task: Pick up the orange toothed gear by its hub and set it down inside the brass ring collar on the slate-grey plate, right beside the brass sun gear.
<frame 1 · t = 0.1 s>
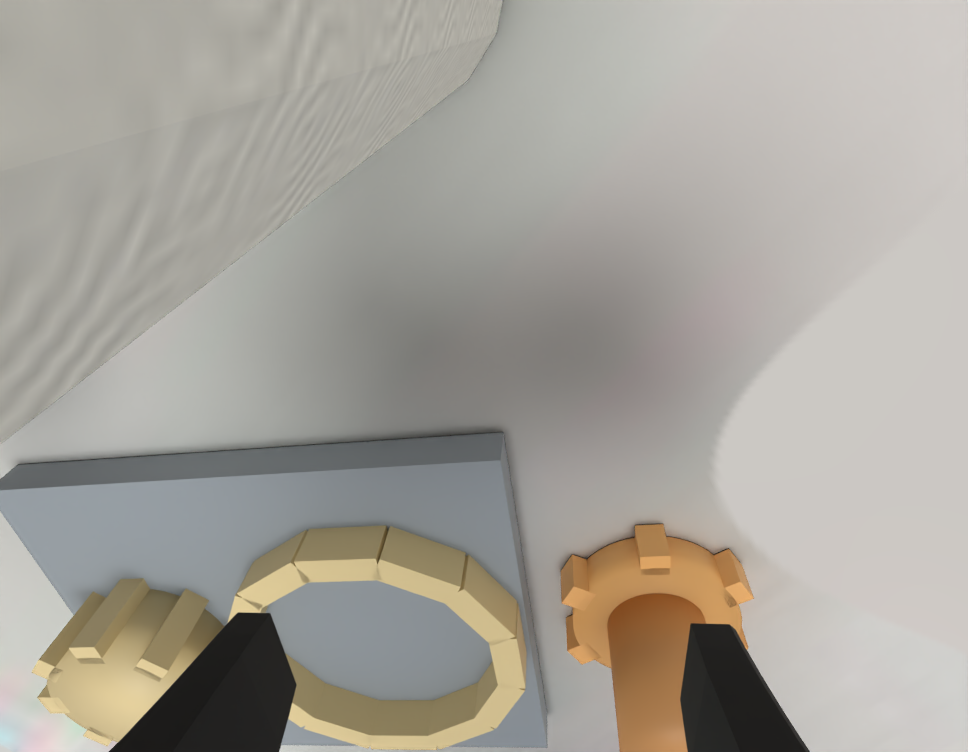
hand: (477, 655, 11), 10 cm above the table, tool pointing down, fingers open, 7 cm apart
planet gear: (649, 592, 24), on the table
carrier plate: (308, 601, 26), on the table
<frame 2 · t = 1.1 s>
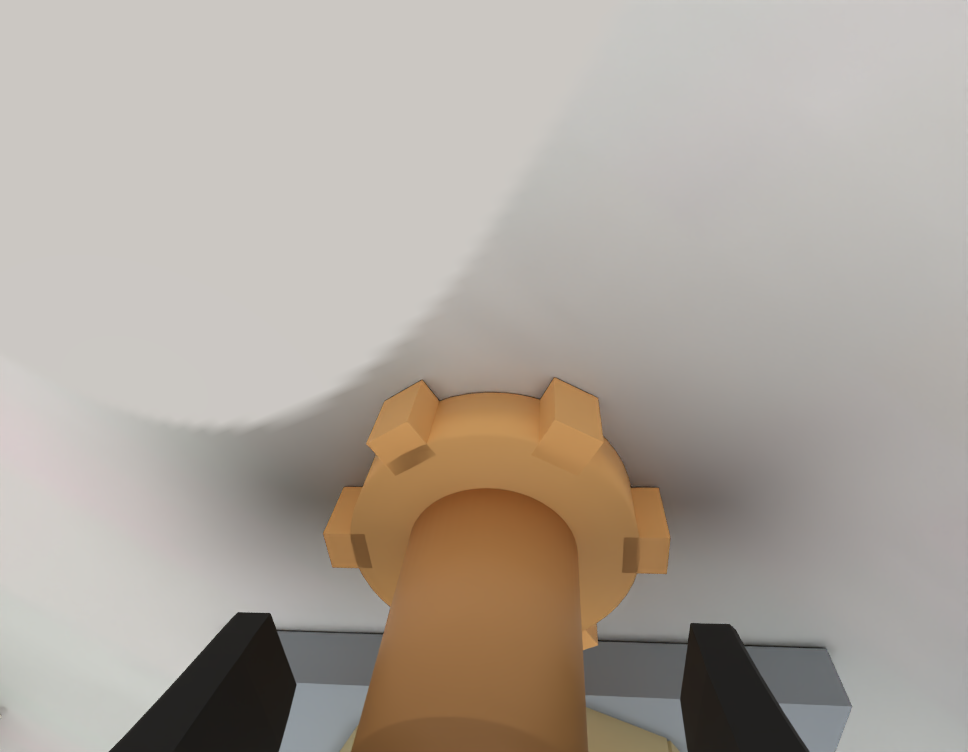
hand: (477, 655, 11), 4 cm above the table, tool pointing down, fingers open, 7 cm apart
planet gear: (497, 504, 14), on the table
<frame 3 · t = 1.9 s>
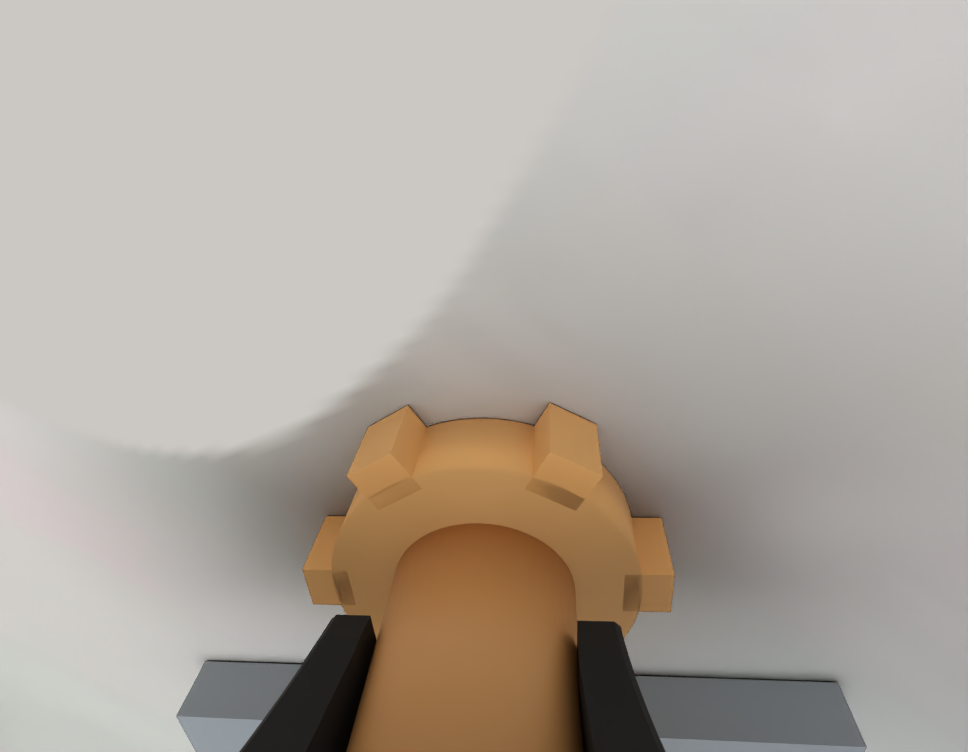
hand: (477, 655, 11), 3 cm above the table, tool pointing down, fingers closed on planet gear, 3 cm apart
planet gear: (490, 534, 13), on the table, touching gripper
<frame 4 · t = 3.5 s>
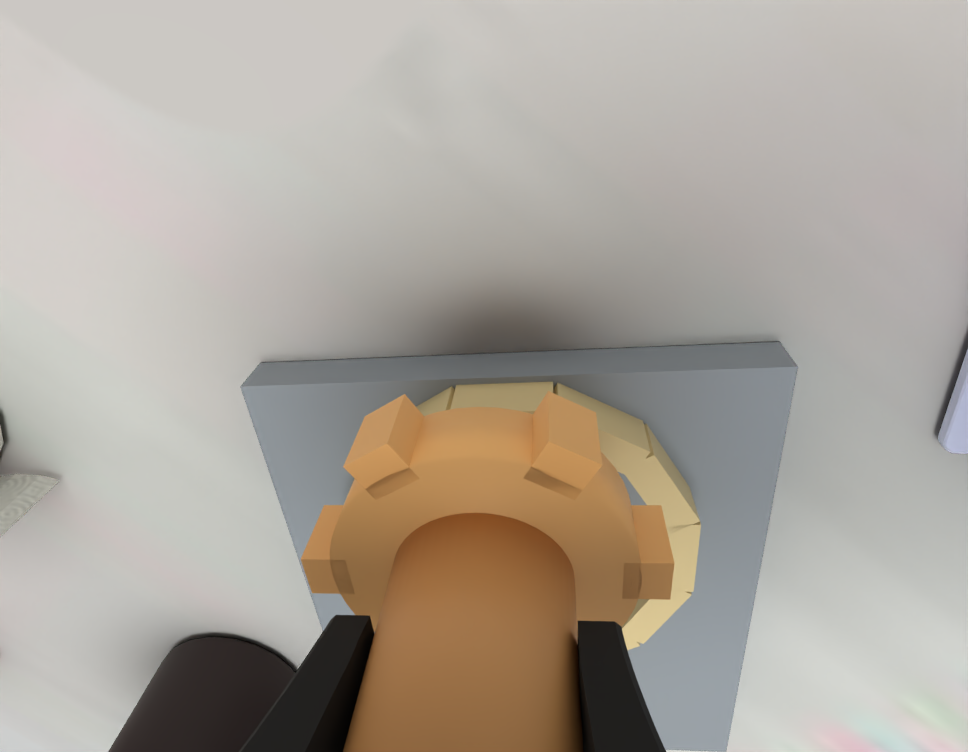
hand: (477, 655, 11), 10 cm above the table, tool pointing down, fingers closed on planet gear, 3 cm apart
bottle: (239, 675, 29), on the table
planet gear: (489, 522, 13), point 7 cm above the table, touching gripper
carrier plate: (524, 567, 23), on the table
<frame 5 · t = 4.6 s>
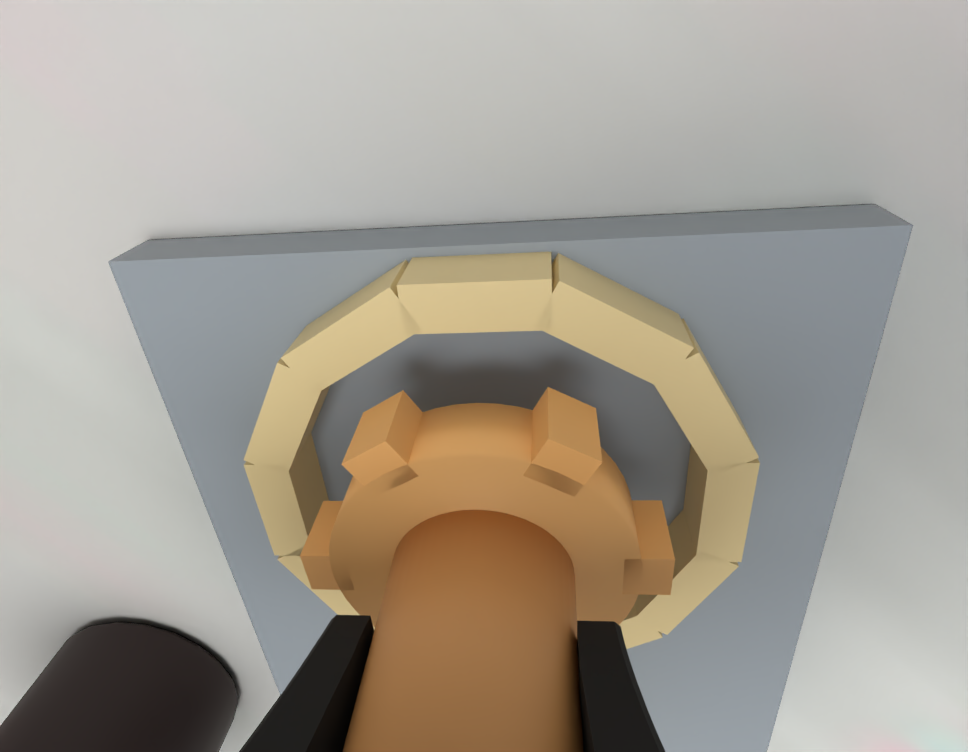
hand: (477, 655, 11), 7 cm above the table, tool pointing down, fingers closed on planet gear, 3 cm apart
bottle: (158, 670, 23), on the table
planet gear: (488, 517, 13), point 4 cm above the table, touching gripper
carrier plate: (509, 534, 18), on the table
when the fingers open (5 cm above the table, at t = 5.3 s): planet gear stays where it is, resting on carrier plate.
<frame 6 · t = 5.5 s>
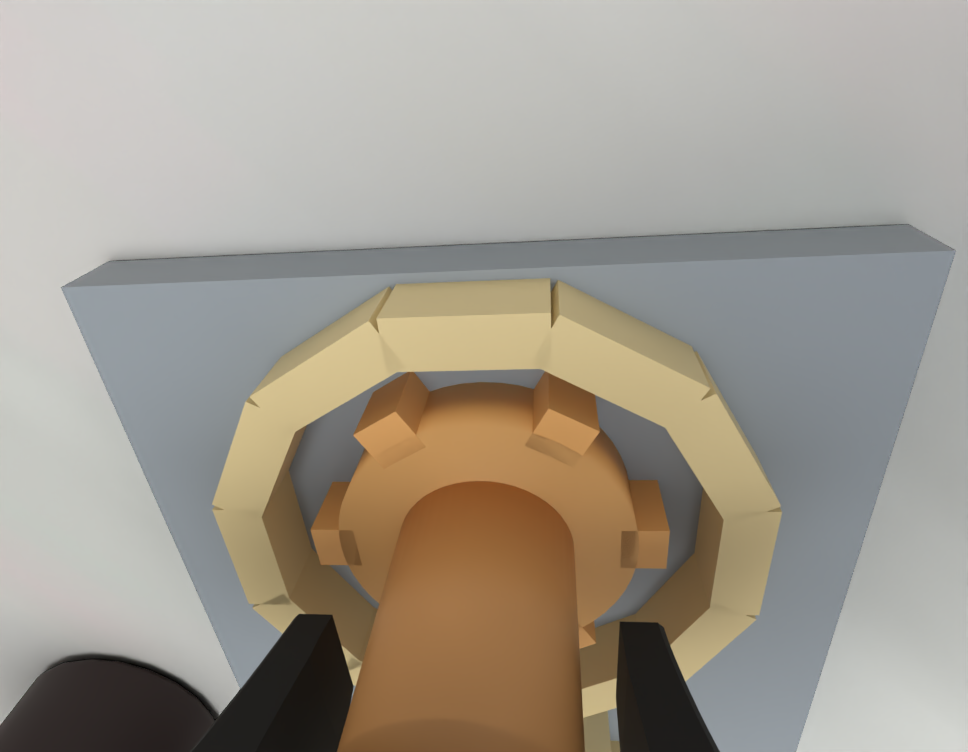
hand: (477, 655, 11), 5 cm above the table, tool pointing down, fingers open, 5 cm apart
bottle: (135, 707, 22), on the table
planet gear: (491, 498, 13), point 1 cm above the table, touching carrier plate
carrier plate: (505, 572, 17), on the table
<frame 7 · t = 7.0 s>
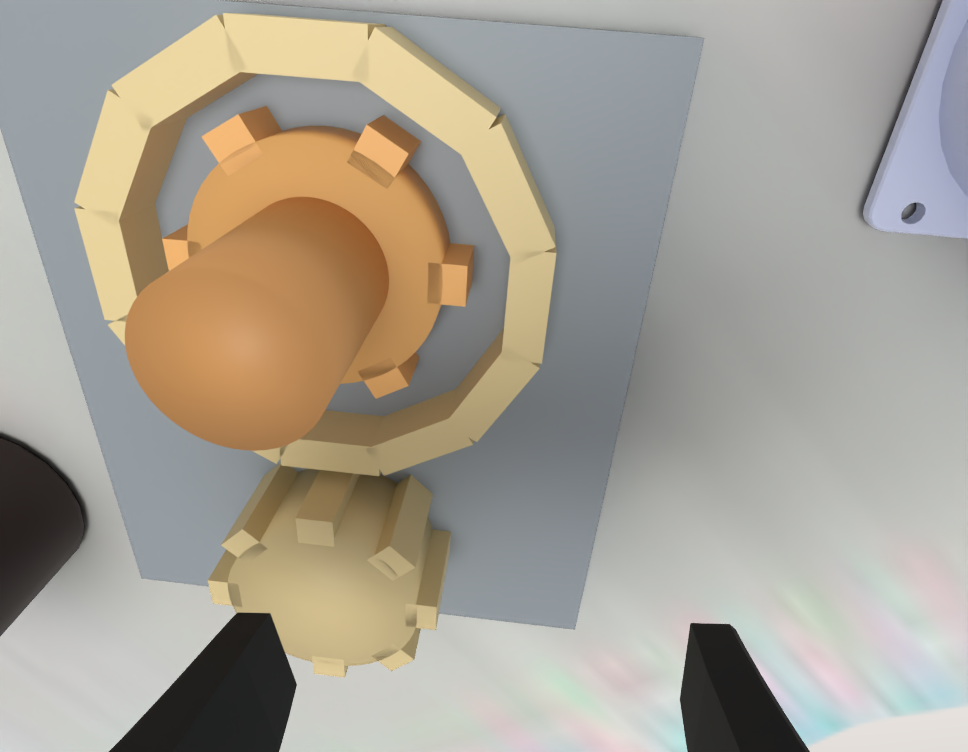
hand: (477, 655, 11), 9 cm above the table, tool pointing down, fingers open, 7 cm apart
bottle: (4, 492, 23), on the table
planet gear: (334, 252, 15), point 1 cm above the table, touching carrier plate
carrier plate: (355, 360, 19), on the table
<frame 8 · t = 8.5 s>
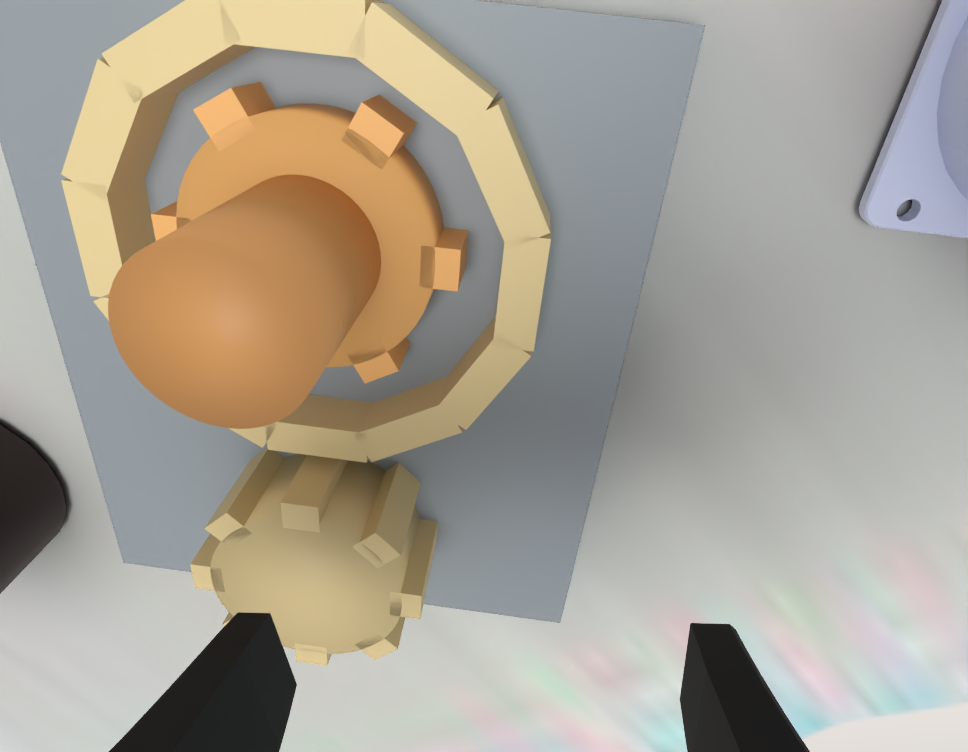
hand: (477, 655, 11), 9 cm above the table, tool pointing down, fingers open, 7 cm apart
planet gear: (326, 233, 15), point 1 cm above the table, touching carrier plate
carrier plate: (346, 346, 19), on the table
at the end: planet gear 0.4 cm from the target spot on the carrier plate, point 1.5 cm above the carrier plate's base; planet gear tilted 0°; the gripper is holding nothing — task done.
